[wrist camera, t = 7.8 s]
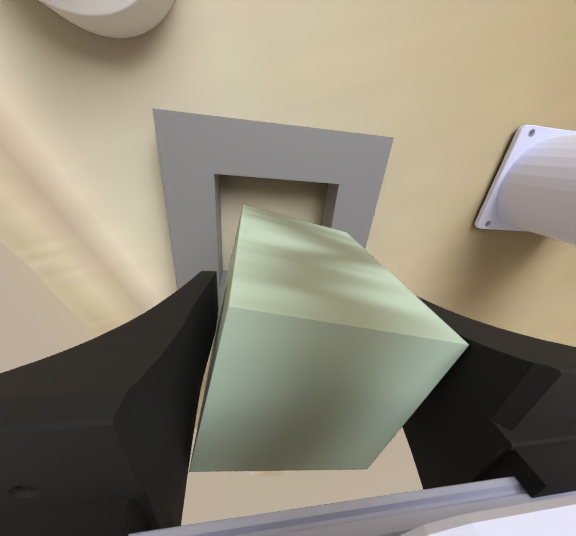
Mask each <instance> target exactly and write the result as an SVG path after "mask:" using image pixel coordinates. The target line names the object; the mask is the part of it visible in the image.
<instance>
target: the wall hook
mask: <svg viewBox="0 0 576 536" xmlns="http://www.w3.org/2000/svg"><path fill="white" fill-rule="evenodd" d="M39 1H40V2H42V3H43V4H45V5H46V6H48V7H49V8H50V9H52V10H53V11H55V12H56V13H58V14H59V15H61V16H62V17H64V18H65V19H67V20H68V21H70V22H71V23H73V24H75V25H77V26H78V27H80V28H82V29H85V30H87V31H89V32H92V33H94V34H98V35H101V36H105V37H111V38H130V37H135V36H138V35H141V34H144V33H146V32H148V31H150V30H151V29H153V28H154V27H155V26H157V25H158V24H159V23H160V22H161V21H162V20H163V19H164V18H165V17H166V15H167V14H168V12H169V11H170V9H171V8H172V6H173V4H174V2H175V0H39Z"/></svg>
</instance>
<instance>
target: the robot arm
mask: <svg viewBox="0 0 576 536" xmlns="http://www.w3.org/2000/svg"><path fill="white" fill-rule="evenodd" d="M529 132H530V133H529ZM528 134H529V135H528ZM486 222H487V223H486ZM485 223H486V224H485ZM475 227H477V228H479V229H494V230H513V231H530V232H533V233H536V234H539V235H542V236H546V237H549V238H552V239H555V240H559V241H562V242H565V243H568V244H572V245H575V246H576V131H570V130H563V129H556V128H549V127H542V126H535V125H522V126H521V127H519V128H518V130H517V131H516V133H515V135H514V138H513V140H512V142H511V144H510V146H509V149H508V151H507V153H506V155H505V157H504V160H503V162H502V164H501V166H500V168H499V171H498V173H497V175H496V177H495V179H494V181H493V184H492V186H491V188H490V190H489V192H488V195H487V197H486V199H485V201H484V203H483V206H482V208H481V210H480V212H479V214H478V217H477V219H476V221H475ZM416 297H417V296H416ZM418 298H419V299H420V300H421V301H422V302H423V303H424V304H425V305H426V306H427V307H428V308H430V309H431V310H432V311H433V312H434V313H435V314H436V315H437V316H438V317H439V318H440V319H442V320H443V321H444V322H445V323H446V324H447V325H448V326H449V327H450V328H451V329H452V330H454V331H455V332H456V333H457V334H458V335H459V336H460V337H461V338H462V339H463V340H465V341H466V342H467V343H468V344H469V346H468V347H467V348H466V349H465V351H464V352H463V353H462V354H461V356H460V357H459V358H458V359H457V360H456V362H455V363H454V364H453V365H452V367H451V368H450V369H449V370H448V371H447V373H446V374H445V375H444V376H443V377H442V379H441V380H440V381H439V382H438V384H437V385H436V386H435V387H434V388H433V390H432V391H431V392H430V393H429V395H428V396H427V397H426V398H425V399H424V401H423V402H422V403H421V404H420V406H419V407H418V408H417V409H416V410H415V412H414V413H413V414H412V415H411V417H410V418H409V419H408V420H407V421H406V423H405V424H404V425H403V426H402V427H403V429H404V432H405V435H406V438H407V440H408V443H409V446H410V448H411V452H412V455H413V458H414V461H415V464H416V467H417V470H418V474H419V477H420V480H421V483H422V486H423V490H419V491H412V492H405V493H398V494H391V495H385V496H378V497H371V498H364V499H358V500H351V501H344V502H338V503H332V504H324V505H318V506H311V507H305V508H298V509H291V510H284V511H278V512H271V513H265V514H257V515H251V516H245V517H238V518H231V519H224V520H217V521H211V522H204V523H197V524H191V525H184V526H181V520H182V512H183V505H184V497H185V490H186V481H187V474H188V467H189V461H190V454H191V447H192V440H193V434H194V427H195V421H196V414H197V408H198V402H199V396H200V390H201V385H202V381H203V376H204V373H205V369H206V365H207V362H208V358H209V354H210V351H211V347H212V343H213V339H214V336H215V332H216V326H217V319H218V311H219V309H218V288H217V271H201V272H199V273H198V274H197V275H196V276H195V277H193V278H192V279H191V280H190V281H189V282H187V283H186V284H185V285H184V286H182V287H181V288H180V289H179V290H177V291H176V292H175V293H173V294H172V295H171V296H169V297H168V298H166V299H165V300H163V301H162V302H161V303H159V304H158V305H156V306H155V307H153V308H152V309H150V310H148V311H147V312H145V313H143V314H142V315H140V316H138V317H136V318H135V319H133V320H131V321H129V322H127V323H125V324H123V325H121V326H119V327H117V328H115V329H113V330H111V331H109V332H107V333H105V334H103V335H101V336H99V337H97V338H94V339H92V340H89V341H87V342H85V343H83V344H80V345H78V346H75V347H73V348H70V349H68V350H65V351H63V352H60V353H57V354H55V355H52V356H50V357H47V358H44V359H42V360H39V361H36V362H33V363H30V364H27V365H24V366H21V367H18V368H15V369H12V370H9V371H6V372H3V373H0V536H576V347H573V346H568V345H563V344H559V343H554V342H550V341H545V340H541V339H537V338H533V337H529V336H525V335H522V334H518V333H514V332H511V331H507V330H504V329H500V328H497V327H494V326H491V325H488V324H484V323H481V322H478V321H475V320H472V319H470V318H467V317H464V316H461V315H459V314H456V313H454V312H451V311H449V310H446V309H444V308H441V307H439V306H437V305H435V304H432V303H430V302H428V301H426V300H424V299H422V298H420V297H418Z"/></svg>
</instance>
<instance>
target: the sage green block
mask: <svg viewBox="0 0 576 536" xmlns="http://www.w3.org/2000/svg"><path fill="white" fill-rule="evenodd" d="M468 346H469V344H468V343H467V342H466V341H465V340H463V339H462V338H461V337H460V336H459V335H458V334H457V333H456V332H455V331H454V330H452V329H451V328H450V327H449V326H448V325H447V324H446V323H445V322H444V321H443V320H442V319H440V318H439V317H438V316H437V315H436V314H435V313H434V312H433V311H432V310H431V309H430V308H428V307H427V306H426V305H425V304H424V303H423V302H422V301H421V300H420V299H419V298H418V297H416V296H415V295H414V294H413V293H412V292H411V291H410V290H409V289H408V288H407V287H406V286H404V285H403V284H402V283H401V282H400V281H399V280H398V279H397V278H396V277H395V276H394V275H392V274H391V273H390V272H389V271H388V270H387V269H386V268H385V267H384V266H383V265H382V264H380V263H379V262H378V261H377V260H376V259H375V258H374V257H373V256H372V255H371V254H370V253H368V252H367V251H366V250H365V249H364V248H363V247H362V246H361V245H360V244H359V243H357V242H356V241H355V240H354V239H353V238H352V237H351V236H350V235H349V234H348V233H347V232H343V231H339V230H336V229H332V228H328V227H325V226H321V225H317V224H313V223H310V222H306V221H302V220H299V219H295V218H291V217H288V216H284V215H280V214H277V213H273V212H269V211H266V210H262V209H258V208H255V207H251V206H247V205H244V204H243V207H242V211H241V216H240V220H239V225H238V229H237V234H236V238H235V243H234V247H233V252H232V256H231V261H230V266H229V270H228V275H227V279H226V284H225V288H224V293H223V297H222V302H221V307H220V312H219V318H218V323H217V328H216V333H215V339H214V344H213V349H212V354H211V360H210V365H209V370H208V375H207V381H206V386H205V391H204V396H203V402H202V407H201V412H200V417H199V423H198V428H197V433H196V439H195V444H194V449H193V454H192V459H191V465H190V470H189V472H206V471H282V470H350V469H351V470H353V469H354V470H355V469H368V468H369V466H370V465H371V464H372V463H373V462H374V460H375V459H376V458H377V457H378V456H379V454H380V453H381V452H382V451H383V449H384V448H385V447H386V446H387V444H388V443H389V442H390V441H391V440H392V438H393V437H394V436H395V435H396V434H397V432H398V431H399V430H400V429H401V427H402V426H403V425H404V424H405V423H406V421H407V420H408V419H409V418H410V417H411V415H412V414H413V413H414V412H415V410H416V409H417V408H418V407H419V406H420V404H421V403H422V402H423V401H424V399H425V398H426V397H427V396H428V395H429V393H430V392H431V391H432V390H433V388H434V387H435V386H436V385H437V384H438V382H439V381H440V380H441V379H442V377H443V376H444V375H445V374H446V373H447V371H448V370H449V369H450V368H451V367H452V365H453V364H454V363H455V362H456V360H457V359H458V358H459V357H460V356H461V354H462V353H463V352H464V351H465V349H466V348H467V347H468Z"/></svg>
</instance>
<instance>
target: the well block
mask: <svg viewBox="0 0 576 536" xmlns="http://www.w3.org/2000/svg"><path fill="white" fill-rule="evenodd" d="M153 116H154V123H155V130H156V137H157V144H158V152H159V159H160V166H161V173H162V181H163V188H164V195H165V202H166V210H167V217H168V224H169V231H170V239H171V246H172V253H173V260H174V267H175V275H176V282H177V289H178V290H179V289H180V288H181V287H182V286H184V285H185V284H186V283H187V282H189V281H190V280H191V279H192V278H193V277H195V276H196V275H197V274H198V273H199V272H201V271H217V288H218V309H219V311H218V318H219V312H220V307H221V302H222V297H223V293H224V288H225V284H226V279H227V275H228V271H223V269H222V241H221V214H220V186H219V174H222V175H234V176H246V177H259V178H271V179H283V180H296V181H308V182H320V183H328V185H327V191H326V197H325V203H324V210H323V216H322V222H321V226H325V227H328V228H332V229H336V230H339V231H343V232H347V233H348V234H349V235H350V236H351V237H352V238H353V239H354V240H355V241H356V242H357V243H359V244H360V245H361V246H362V247H363V248H364V249H365V247H366V243H367V240H368V236H369V232H370V228H371V224H372V220H373V216H374V212H375V208H376V204H377V201H378V197H379V193H380V189H381V185H382V181H383V177H384V173H385V169H386V165H387V162H388V158H389V154H390V150H391V146H392V142H393V137H385V136H376V135H368V134H360V133H351V132H343V131H334V130H326V129H318V128H309V127H301V126H293V125H284V124H276V123H268V122H259V121H251V120H243V119H234V118H226V117H218V116H209V115H201V114H193V113H184V112H176V111H168V110H159V109H153Z"/></svg>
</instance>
